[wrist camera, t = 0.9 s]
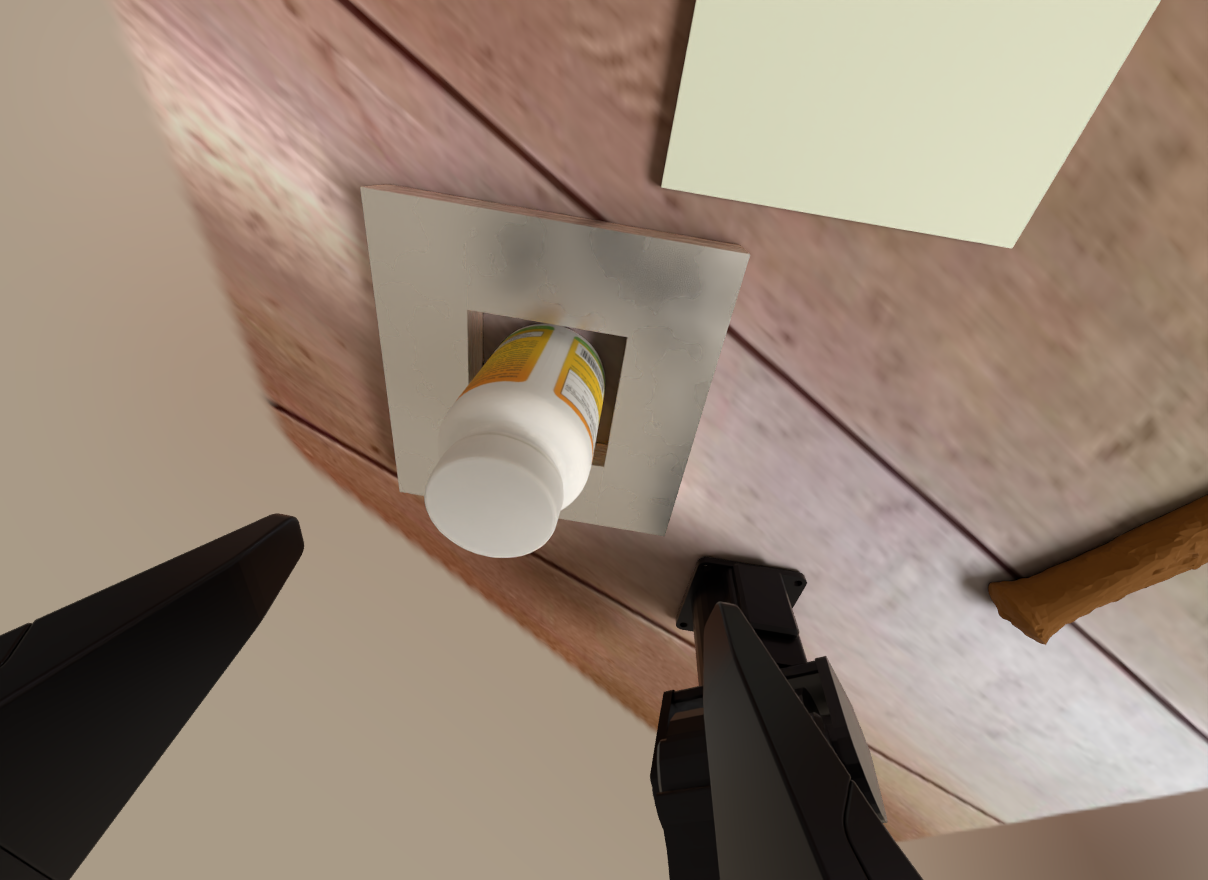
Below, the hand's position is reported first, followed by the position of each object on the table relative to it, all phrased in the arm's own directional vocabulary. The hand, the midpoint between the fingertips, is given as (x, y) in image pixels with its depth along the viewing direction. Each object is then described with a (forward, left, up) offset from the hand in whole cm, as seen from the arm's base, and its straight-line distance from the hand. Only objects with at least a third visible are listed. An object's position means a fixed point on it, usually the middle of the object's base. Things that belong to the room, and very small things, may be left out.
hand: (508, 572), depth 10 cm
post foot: (-2, +1, -13) cm, 13 cm away
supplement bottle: (-2, +1, -13) cm, 13 cm away
